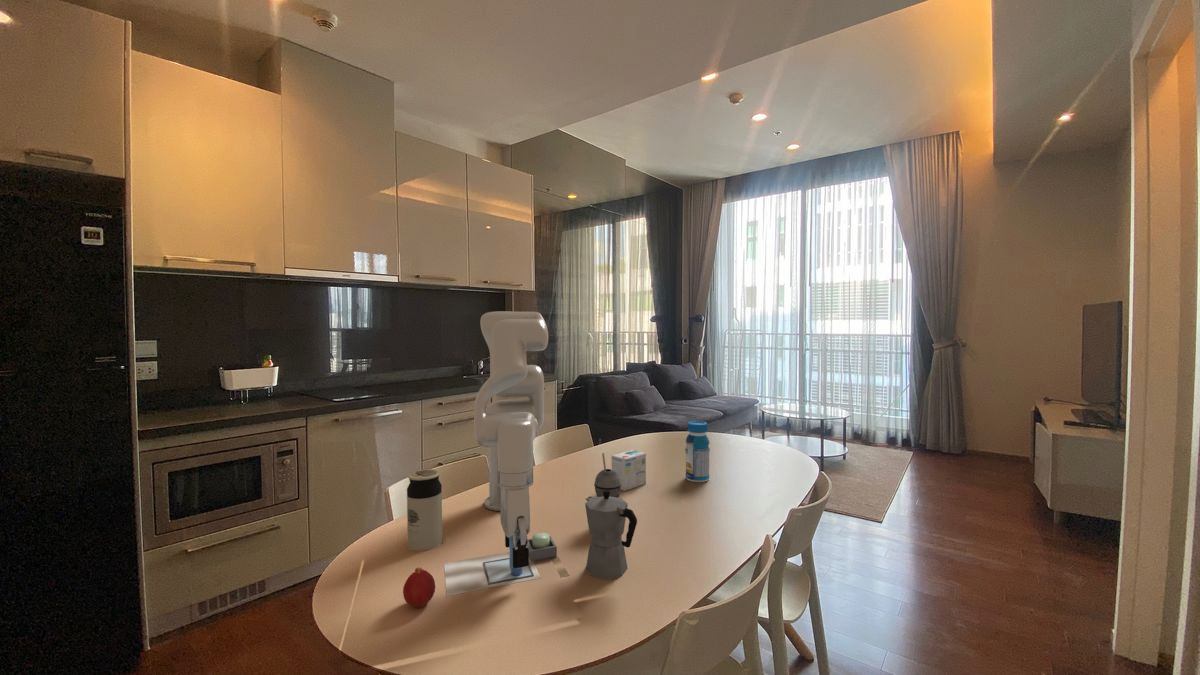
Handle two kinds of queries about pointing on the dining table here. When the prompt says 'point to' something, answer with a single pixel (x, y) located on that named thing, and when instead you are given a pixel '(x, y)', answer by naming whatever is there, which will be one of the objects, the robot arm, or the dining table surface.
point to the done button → (540, 540)
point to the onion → (419, 588)
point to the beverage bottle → (697, 452)
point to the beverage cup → (607, 482)
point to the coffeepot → (608, 535)
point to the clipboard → (489, 573)
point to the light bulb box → (630, 468)
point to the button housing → (542, 551)
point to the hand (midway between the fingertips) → (516, 555)
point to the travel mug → (424, 510)
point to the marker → (511, 545)
